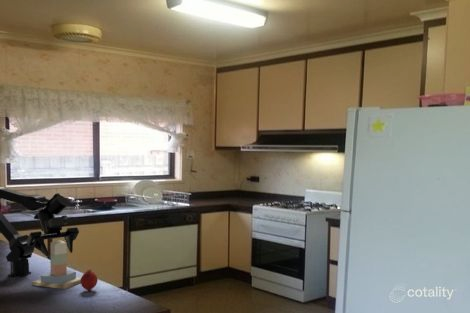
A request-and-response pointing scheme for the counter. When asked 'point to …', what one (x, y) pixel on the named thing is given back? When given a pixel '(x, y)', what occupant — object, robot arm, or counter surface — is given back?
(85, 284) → the onion
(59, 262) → the brick column
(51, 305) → the counter surface
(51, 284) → the board
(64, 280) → the base brick
